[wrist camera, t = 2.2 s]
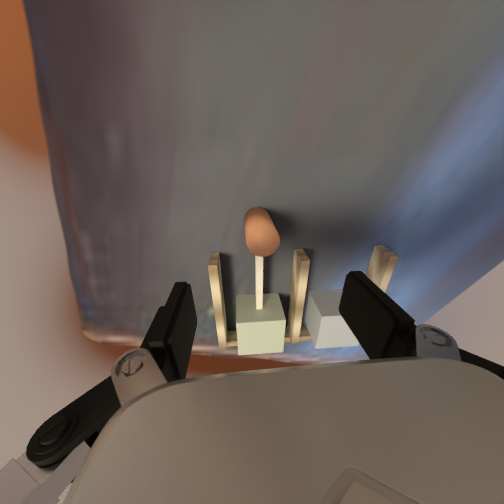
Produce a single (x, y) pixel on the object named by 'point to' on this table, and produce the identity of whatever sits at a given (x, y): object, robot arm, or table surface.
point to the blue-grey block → (327, 320)
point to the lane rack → (294, 292)
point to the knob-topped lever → (260, 293)
